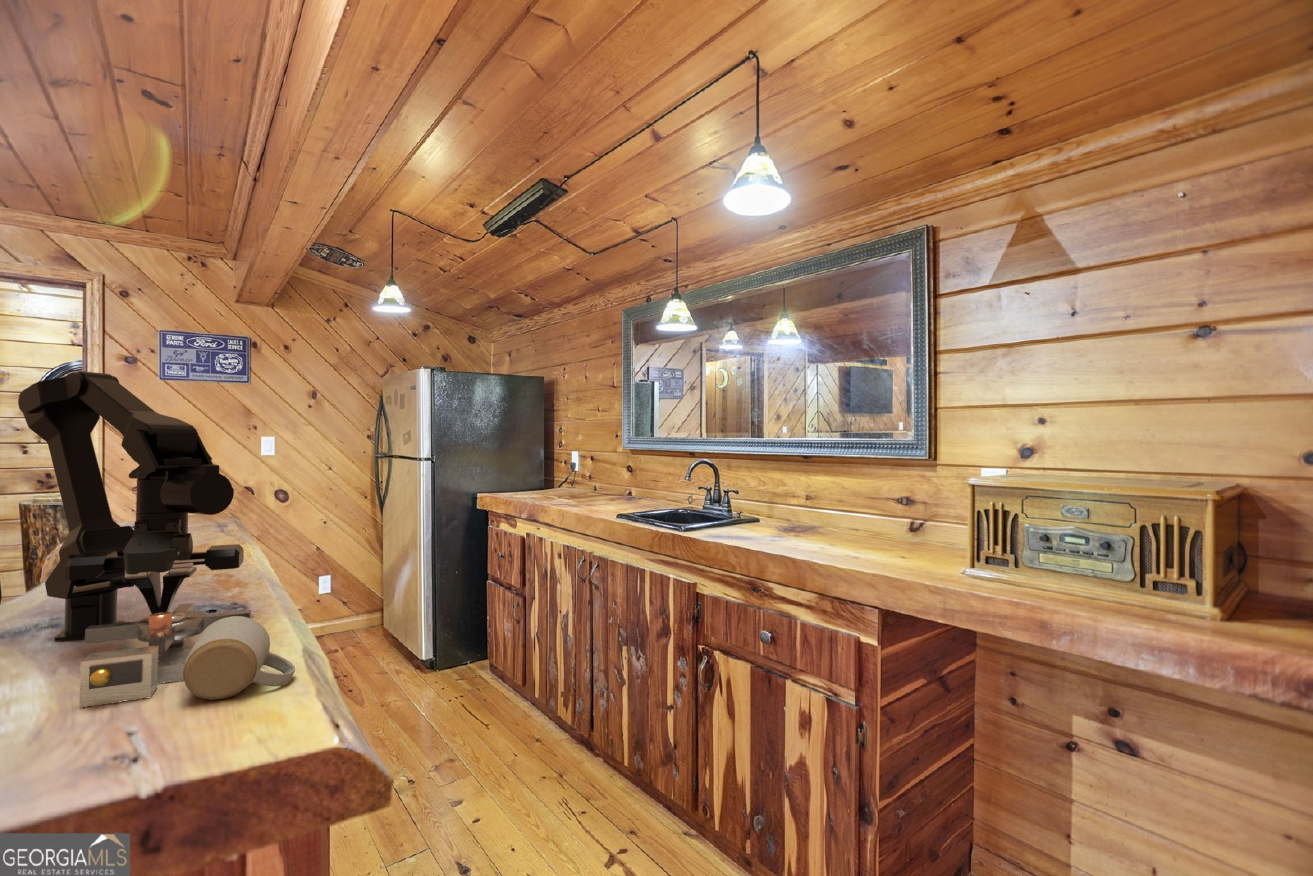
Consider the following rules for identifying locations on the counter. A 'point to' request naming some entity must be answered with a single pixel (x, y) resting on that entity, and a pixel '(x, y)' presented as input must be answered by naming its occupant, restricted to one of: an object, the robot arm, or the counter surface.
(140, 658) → the stand
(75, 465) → the robot arm
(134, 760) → the counter surface
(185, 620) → the capstan
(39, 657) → the counter surface
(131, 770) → the counter surface
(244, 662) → the ceramic mug
